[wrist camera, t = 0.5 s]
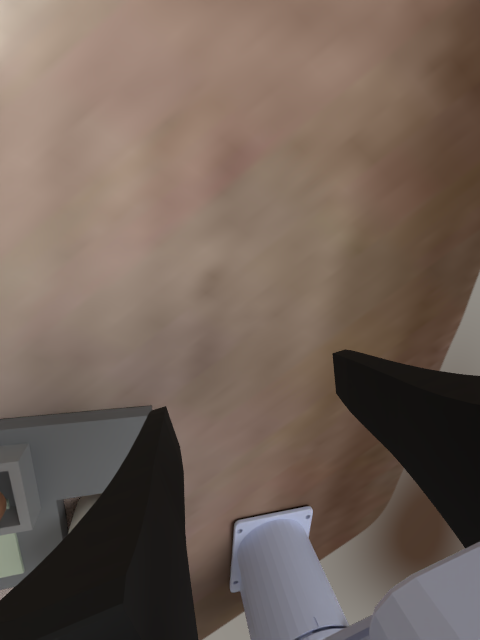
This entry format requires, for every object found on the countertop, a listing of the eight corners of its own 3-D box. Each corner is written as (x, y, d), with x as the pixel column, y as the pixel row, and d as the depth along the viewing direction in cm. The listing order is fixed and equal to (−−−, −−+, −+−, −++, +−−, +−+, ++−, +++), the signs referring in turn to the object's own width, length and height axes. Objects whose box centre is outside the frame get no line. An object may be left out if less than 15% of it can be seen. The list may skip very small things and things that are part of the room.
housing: (156, 542, 26) (156, 576, 24) (-83, 590, 22) (-115, 640, 19) (151, 405, 22) (150, 429, 19) (-146, 432, 18) (-198, 468, 15)
